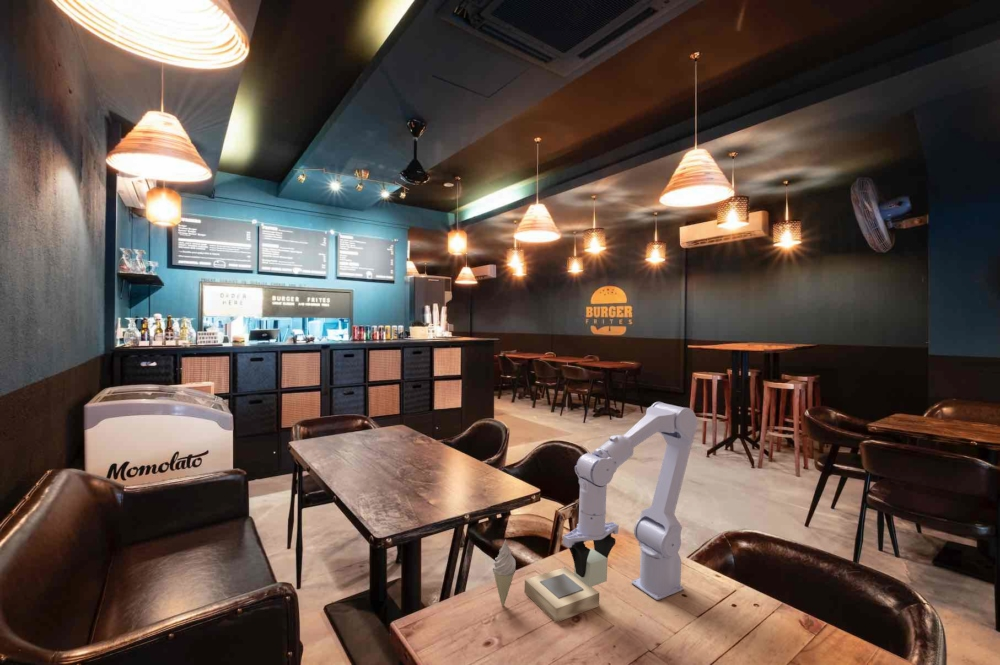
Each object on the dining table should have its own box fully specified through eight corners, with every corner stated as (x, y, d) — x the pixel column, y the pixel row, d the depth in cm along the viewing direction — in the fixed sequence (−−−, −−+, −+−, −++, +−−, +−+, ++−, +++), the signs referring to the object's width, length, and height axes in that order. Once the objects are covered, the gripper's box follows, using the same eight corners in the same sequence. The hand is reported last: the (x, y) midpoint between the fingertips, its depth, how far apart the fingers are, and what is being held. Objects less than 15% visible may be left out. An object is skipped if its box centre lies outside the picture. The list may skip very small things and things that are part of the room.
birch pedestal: (565, 578, 111) (565, 566, 111) (599, 606, 101) (599, 591, 100) (524, 592, 105) (524, 578, 105) (556, 622, 94) (556, 607, 94)
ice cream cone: (512, 614, 97) (514, 545, 96) (489, 611, 98) (491, 542, 97) (516, 600, 101) (518, 534, 101) (494, 597, 102) (496, 532, 102)
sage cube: (590, 570, 102) (591, 548, 102) (606, 581, 98) (607, 558, 98) (573, 575, 100) (574, 553, 100) (589, 587, 95) (590, 564, 95)
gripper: (603, 498, 106) (601, 555, 106) (554, 509, 98) (552, 571, 99) (626, 509, 100) (624, 569, 100) (576, 522, 92) (573, 587, 93)
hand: (590, 571), depth 99 cm, fingers closed on sage cube, 5 cm apart
